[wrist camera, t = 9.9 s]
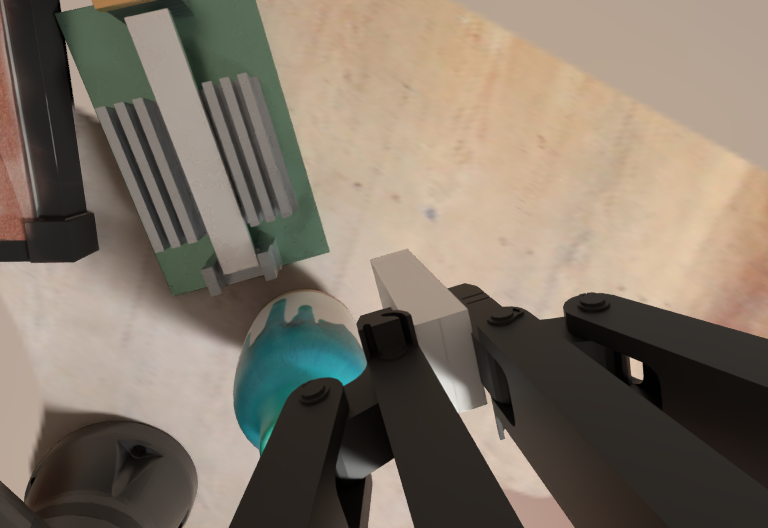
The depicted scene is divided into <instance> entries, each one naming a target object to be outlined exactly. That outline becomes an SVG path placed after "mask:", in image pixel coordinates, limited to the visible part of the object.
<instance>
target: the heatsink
mask: <svg viewBox="0 0 768 528" xmlns="http://www.w3.org/2000/svg"><path fill="white" fill-rule="evenodd" d="M92 2H93V6H88V7H83V8H79V9H74V10H69V11H65V12H60V13H55V16H56V18H57V21H58V23H59V26H60V28H61V30H62V33H63V35H64V37H65V40H66V42H67V45H68V47H69V49H70V51H71V54H72V56H73V59H74V61H75V64H76V66H77V68H78V71H79V73H80V76H81V78H82V80H83V83H84V85H85V88H86V90H87V92H88V94H89V97H90V99H91V102H92V104H93V107H94V109H95V111H96V114H97V116H98V119H99V121H100V123H101V126H102V128H103V131H104V133H105V135H106V138H107V140H108V142H109V145H110V147H111V150H112V152H113V154H114V157H115V159H116V162H117V164H118V166H119V169H120V171H121V173H122V176H123V178H124V181H125V183H126V185H127V188H128V190H129V193H130V195H131V197H132V200H133V202H134V204H135V207H136V209H137V212H138V214H139V216H140V219H141V221H142V224H143V226H144V228H145V231H146V233H147V235H148V238H149V240H150V243H151V245H152V247H153V250H154V252H155V255H156V257H157V259H158V262H159V264H160V267H161V269H162V271H163V274H164V276H165V278H166V281H167V283H168V286H169V288H170V290H171V293H172V295H173V296H177V295H180V294H184V293H187V292H191V291H194V290H198V289H201V288H205V287H207V288H208V290H209V293H210V295H211V297H214V296H217V295H221V294H222V293H223V292H224V290H225V288H226V286H227V285H230V284H234V283H237V282H241V281H244V280H248V279H251V278H255V277H258V276H262V275H264V277H265V280H266V281H270V280H273V279H277V275H278V271H279V270H281V269H282V265H286V264H289V263H293V262H296V261H300V260H303V259H307V258H310V257H314V256H317V255H321V254H324V253H328V252H330V251H329V247H328V244H327V241H326V237H325V234H324V230H323V227H322V224H321V220H320V217H319V213H318V210H317V207H316V203H315V200H314V197H313V193H312V190H311V186H310V183H309V180H308V176H307V173H306V169H305V166H304V163H303V159H302V156H301V152H300V149H299V146H298V142H297V139H296V136H295V132H294V129H293V125H292V122H291V119H290V115H289V112H288V108H287V105H286V102H285V98H284V95H283V91H282V88H281V85H280V81H279V78H278V75H277V71H276V68H275V64H274V61H273V58H272V54H271V51H270V47H269V44H268V41H267V37H266V34H265V30H264V27H263V24H262V20H261V17H260V14H259V10H258V7H257V3H256V0H92ZM166 8H168V9H169V10H170V11H171V14H172V17H173V20H174V23H175V25H176V28H177V31H178V34H179V37H180V39H181V42H182V45H183V48H184V51H185V54H186V56H187V59H188V62H189V65H190V68H191V70H192V73H193V76H194V79H195V82H196V84H197V87H198V90H199V93H200V96H201V98H202V101H203V104H204V107H205V110H206V112H207V115H208V118H209V121H210V124H211V126H212V129H213V132H214V135H215V138H216V140H217V143H218V146H219V149H220V152H221V155H222V157H223V160H224V163H225V166H226V169H227V171H228V174H229V177H230V180H231V183H232V185H233V188H234V191H235V194H236V197H237V199H238V202H239V205H240V208H241V211H242V213H243V216H244V219H245V222H246V225H247V227H248V230H249V233H250V236H251V239H252V241H253V244H254V247H255V250H256V253H257V257H258V259H259V262H260V264H259V265H258V266H255V267H251V268H248V269H244V270H240V271H237V272H233V273H230V274H226V275H224V273H223V270H222V268H221V265H220V263H219V260H218V257H217V255H216V252H215V250H214V247H213V245H212V242H211V239H210V237H209V234H208V232H207V229H206V227H205V224H204V222H203V219H202V216H201V214H200V211H199V209H198V206H197V204H196V201H195V198H194V196H193V193H192V191H191V188H190V186H189V183H188V181H187V178H186V175H185V173H184V170H183V168H182V165H181V163H180V160H179V157H178V155H177V152H176V150H175V147H174V145H173V142H172V140H171V137H170V134H169V132H168V129H167V127H166V124H165V122H164V119H163V116H162V114H161V111H160V109H159V106H158V104H157V101H156V99H155V96H154V93H153V91H152V88H151V86H150V83H149V81H148V78H147V75H146V73H145V70H144V68H143V65H142V63H141V60H140V57H139V55H138V52H137V50H136V47H135V45H134V42H133V40H132V37H131V34H130V32H129V29H128V27H127V24H126V22H125V19H124V18H125V17H130V16H134V15H139V14H143V13H148V12H152V11H157V10H161V9H166Z"/></svg>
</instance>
